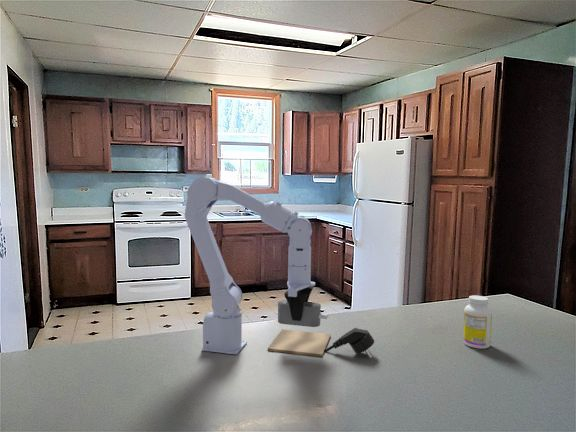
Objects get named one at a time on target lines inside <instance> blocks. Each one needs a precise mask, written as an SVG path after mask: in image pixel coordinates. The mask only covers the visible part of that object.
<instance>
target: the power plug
mask: <svg viewBox="0 0 576 432" xmlns="http://www.w3.org/2000/svg"><path fill="white" fill-rule="evenodd" d="M374 343H375V339H374V338H373V336H372V335H371V333H370V332H369V331H368V330H367V329H361V328H357V327H354V328H352V329H351V330H349V331H347V332H346V333H344V334H343V335H342V336H340V337H339V338H338V339H337V340H335V341H334V342H332V345H330V346H329V347H326V349H325V350H324V353H328V352H329V351H330V350H332V349H338V348H340V347H343V346H345V345H347V344H348V345H349V346H350V347H351V348H352V350H353V352H354V353H355V354H361V353H363V352H365V353H366V355H367V357H368V358H369V359H372V357H373V356H372V353H373V352H372V351H371V349H370V348H371V347H372V346H373V345H374Z"/></svg>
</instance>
